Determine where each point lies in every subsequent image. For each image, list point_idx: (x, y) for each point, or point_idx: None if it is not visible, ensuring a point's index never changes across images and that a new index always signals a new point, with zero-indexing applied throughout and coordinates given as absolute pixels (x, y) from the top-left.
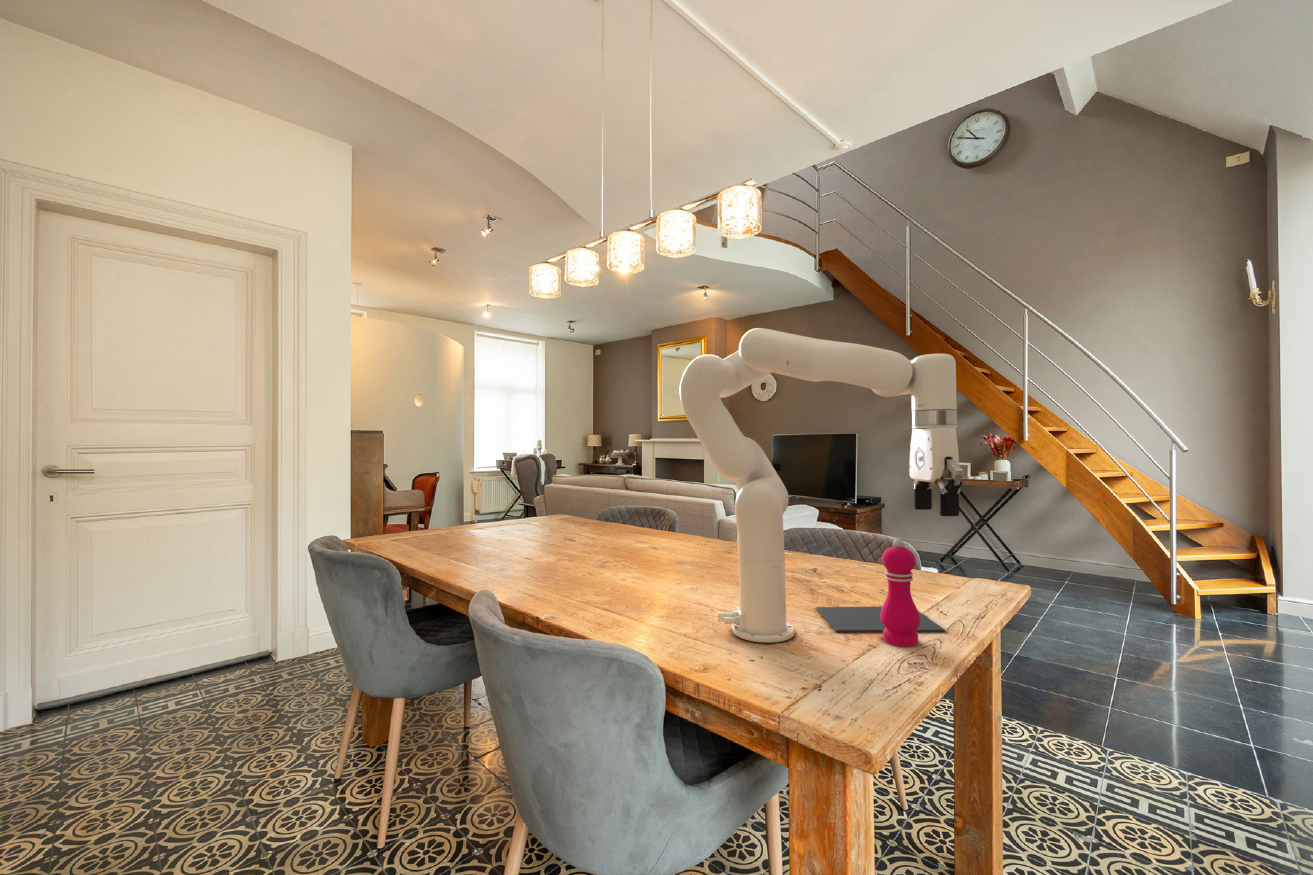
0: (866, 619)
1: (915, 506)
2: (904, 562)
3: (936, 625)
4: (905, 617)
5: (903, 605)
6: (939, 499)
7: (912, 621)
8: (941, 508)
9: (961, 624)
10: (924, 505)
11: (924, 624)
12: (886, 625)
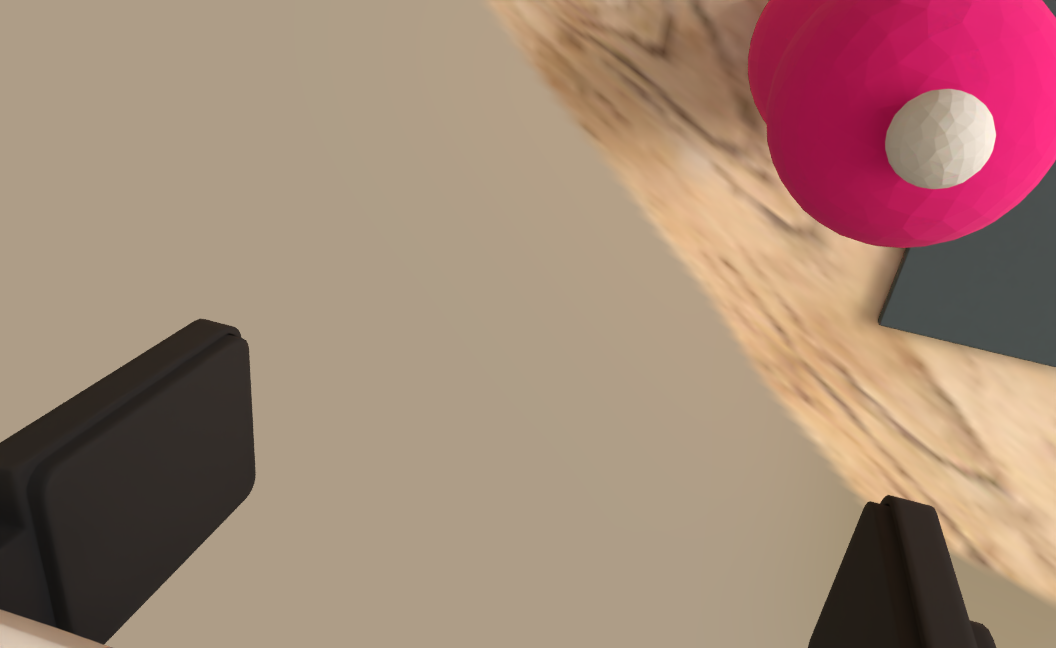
0: None
1: (895, 515)
2: (774, 84)
3: (944, 329)
4: (760, 34)
5: (787, 45)
6: (88, 419)
7: (749, 70)
8: (147, 357)
9: (940, 451)
10: (840, 622)
11: (981, 288)
12: None
